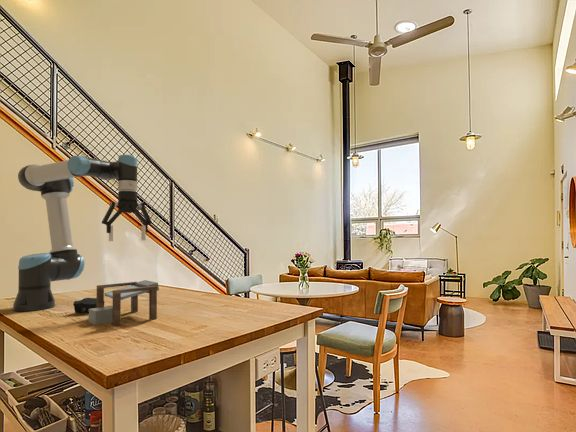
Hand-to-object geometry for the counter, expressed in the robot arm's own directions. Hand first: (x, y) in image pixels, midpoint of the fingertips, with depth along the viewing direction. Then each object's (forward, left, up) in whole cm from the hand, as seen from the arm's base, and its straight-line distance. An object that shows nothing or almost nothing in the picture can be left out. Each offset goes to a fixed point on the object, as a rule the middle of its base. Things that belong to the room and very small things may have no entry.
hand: (127, 240), depth 160 cm
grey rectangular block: (+17, -11, -26) cm, 33 cm away
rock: (-4, -13, -29) cm, 32 cm away
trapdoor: (+18, -4, -20) cm, 27 cm away
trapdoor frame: (+18, -7, -29) cm, 35 cm away
